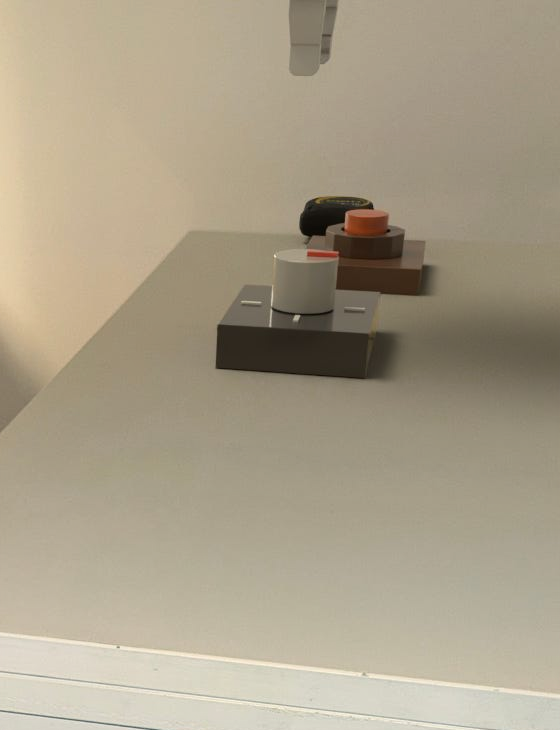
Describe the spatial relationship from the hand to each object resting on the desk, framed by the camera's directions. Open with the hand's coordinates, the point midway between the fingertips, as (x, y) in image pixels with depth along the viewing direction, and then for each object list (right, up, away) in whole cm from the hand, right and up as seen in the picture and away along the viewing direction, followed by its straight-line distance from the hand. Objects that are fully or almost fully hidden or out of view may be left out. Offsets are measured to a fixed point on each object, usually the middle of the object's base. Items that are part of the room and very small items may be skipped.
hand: (310, 69), depth 86 cm
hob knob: (0, -14, +5) cm, 15 cm away
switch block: (+9, -6, +27) cm, 29 cm away
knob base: (0, -17, +7) cm, 18 cm away
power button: (+9, -3, +25) cm, 27 cm away
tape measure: (+10, +1, +40) cm, 41 cm away
